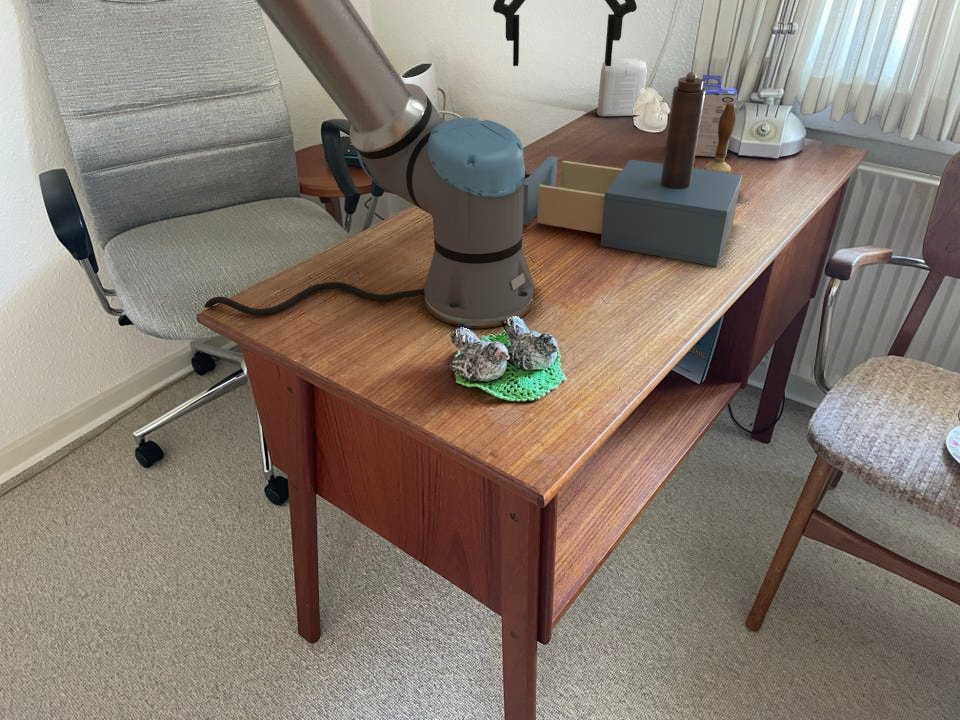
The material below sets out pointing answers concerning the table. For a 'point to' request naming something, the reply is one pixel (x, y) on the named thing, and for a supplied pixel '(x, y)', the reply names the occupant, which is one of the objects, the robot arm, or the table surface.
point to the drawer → (568, 195)
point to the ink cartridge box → (712, 115)
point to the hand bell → (723, 139)
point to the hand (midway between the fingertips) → (561, 64)
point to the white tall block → (620, 86)
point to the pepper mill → (683, 132)
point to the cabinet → (670, 213)
